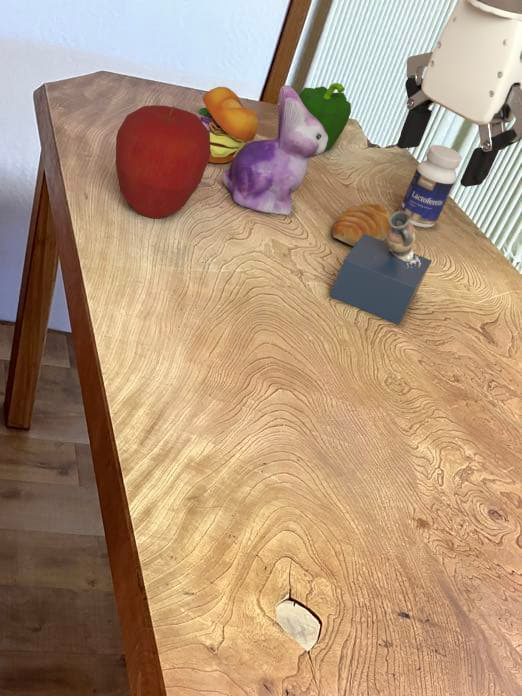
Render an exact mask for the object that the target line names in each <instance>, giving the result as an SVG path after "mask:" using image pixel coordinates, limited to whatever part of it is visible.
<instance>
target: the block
mask: <svg viewBox="0 0 522 696" xmlns="http://www.w3.org/2000/svg"><path fill="white" fill-rule="evenodd" d="M389 249H390V248H389V246H388V244H387V241H385V240H384V241H382V240H379V239H377V238H374V237H371V236H369V235H366V234H363V236H362V237H361V238H360V240H359V241H358V242H357V243H356V245H355V246H352V248H351V250H350V251H349V252H348V253H347V255H346V256H345V258H343V261H342V264H341V266H340V269H339V271H338V274H337V276H336V279H335V281H334V284H333V286H332V288H331V291H330V293H329V297H330V298H333V299H336V300H338V301H341V302H343V303H346V304H348V305H350V306H352V307H355V308H357V309H360V310H362V311H365V312H367V313H369V314H371V315H374V316H376V317H378V318H381V319H383V320H386V321H389V322H391V323H393V324H396V325H400V323H401V322H402V320H403V318H404V316H405V315H406V313H407V312H408V309H409V308H410V306H411V305H412V303H413V301H414V299H415V298H416V295H417V293H418V291H419V289H420V287H421V285H422V283H423V281H424V279H425V276H426V274H427V273H428V270H429V268H430V266H431V264H432V262H433V261H432V259H429V258H426V257H424V256H422V255H420V254H417V253H414V254H413V258H412V260H413V259H414V260H416V259H415V258H416V257H415V255H416V256H418V259H419V260H420V263H421V265H420V267H419V264H418V263H419V261H418V262H416V264H415V263H412V265H411V264H409V263H410V262H407V261H403V260H401V259H399V258H398V257H396V256H395V255H394V254H393V253H392V252H391V251H390V250H389ZM418 259H417V260H418ZM406 263H408V266H407V264H406ZM415 265H416V266H415ZM407 267H408V268H407ZM411 267H412V268H411Z"/></svg>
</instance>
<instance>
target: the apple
mask: <svg viewBox="0 0 522 696" xmlns="http://www.w3.org/2000/svg"><path fill="white" fill-rule="evenodd" d="M210 151H211V150H210V132H209V131H208V130H207V128H206V127H205V125H204V124H203V123H202V121H201V120H200V119H199V118H198V116H197V115H195V114H193V113H192V112H190V111H188V110H184V109H182V108H178V107H176V106H175V105H173V106H169V105H159V104H158V105H157V104H156V105H155V104H154V105H153V104H151V105H143V106H142V107H139V108H137V109H136V110H133V111H132V112H130V113H128V114H127V115H126V117H125V118H124V119H123V121H122V123H121V125H120V127H119V128H118V130H117V133H116V137H115V168H116V175H117V181H118V189H119V191H120V193H121V194H122V196H123V197H124V198H125V200H126V201H127V203H128V204H129V205H130V206H131V207H130V208H132V210H134V211H135V212H136V213H137V214H139V215H142V216H144V217H147V218H152V219H165V218H167V217H168V216H171V215H173V214H174V213H176V212H179V211H181V209H183V208H184V207H185V206H186V205H187V203H188V202H189V200H190V198H191V197H192V195H193V194H194V192H195V191H196V189H197V188H198V187H199V185H200V184H201V182H202V179H203V176H204V174H205V170H206V168H207V166H208V163H209V162H208V161H209V158H210Z"/></svg>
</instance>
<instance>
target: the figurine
mask: <svg viewBox="0 0 522 696" xmlns="http://www.w3.org/2000/svg"><path fill="white" fill-rule="evenodd" d="M277 122H278V123H277V138H274V139H273V138H272V139H263V140H252V141H249V142H247V144H246V145H245V146H244V147H242V148H241V149H240V150H239V152H238V153H237V154H236V156H235V157H234V159H233V161H231V164H230V166H229V168H227V169H225V170H224V171H223V172H222V174H221V178H222V182H223V184H224V186H225V188H227V189H228V191H229V192H230V194H231V196H232V200H233V202H234V203H236V205H238V206H239V207H243V208H247V209H250V210H252V211H256V212H260V213H264V214H266V213H267V214H276V215H281V216H288V215H290V214H291V212H292V209H293V208H292V207H293V205H292V193H294V192H296V191H297V189H298V188H299V187H300V186H302V184H303V182H304V180H305V177H306V174H307V169H308V165H309V162H310V161H309V160H310V159H312V158H315V157H318V156H320V155H322V154H323V153H324V152H325V151H324V150H325V148H326V146H327V142H328V135H327V133H326V132H325V130H324V127H323V126H322V124H321V123H320V122H319V121H318V120H317V119H316V118H315V117H314V116H313V115H311V114H310V113H309V111H308V110H307V109H306V107H305V106H304V104H303V103H302V101H301V99H300V97H299V94H298V93H297V92H296V91H295V89H294V88H293V87H291V86H290V85H288V84H285V85H282V86H281V87H280V89H279V92H278V121H277Z"/></svg>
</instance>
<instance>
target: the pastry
mask: <svg viewBox="0 0 522 696" xmlns="http://www.w3.org/2000/svg"><path fill="white" fill-rule="evenodd" d="M381 217H382V218H381ZM390 217H391V214H390V212H389V211H388V210H387V208H386V207H385V206H383V205H381V204H379V203H370V202H368V201H366V202H365V203H361V204H359V205H357V206H352V207H348V209H347V210H345V211H344V212H342V213H341V214H340V215H339V216H338V217H337V219H336V221H335V224H334V225H333V228H332V231H331V233H332V238H334V239H337V240H339V241H341V242H343V243H345V244H347V245H349V246H352V247H354V246H355V245H356V243H357V242H358V241H359V240H360V238H361V237H362V236H363V234H366V235H369V236H371V237H374V238H377V239H379V240H382V241H384V242H385V240H386V233H387V231H388V229H389V228H390V224H389V219H390Z"/></svg>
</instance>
